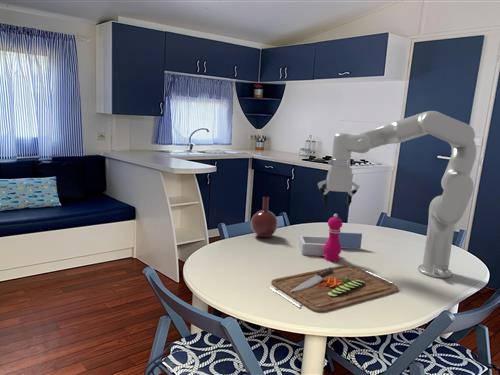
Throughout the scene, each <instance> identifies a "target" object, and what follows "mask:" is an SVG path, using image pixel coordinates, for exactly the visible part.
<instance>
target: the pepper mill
mask: <svg viewBox="0 0 500 375" xmlns="http://www.w3.org/2000/svg"><path fill="white" fill-rule="evenodd" d="M327 225H328V230H327V231H328V234H329V235H328V237H329V238H328V240H327V242H326V244H325V246H324V251H325V252H326V254H325V256H323V258H324V260H326V261H328V262H333V263H336V262H339V260H340V254H342V247H341V245H340V243H339V233H340V232H341V228H342V227H343V221H342V219H341V218H340V217H339V215H338V213H334V214H333V216H331V217H330V218H329V219H328V221H327Z"/></svg>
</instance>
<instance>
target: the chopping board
mask: <svg viewBox="0 0 500 375" xmlns="http://www.w3.org/2000/svg"><path fill="white" fill-rule="evenodd" d="M271 285H272V286H273V287H274V288H273V287H270V291H272V292H274V293H276V294H277V295H278V296H280V297H281V298H282V299H285V300H286V301H288V302H289V303H291V304H292V305H294V306H295V307H296V308H298V309H301V308H302V307H305V308H306V309H308V310H310V311H312V312H315V313H326V312H330V311H333V310H337V309H341V308H344V307H348V306H352V305H356V304H360V303H364V302H366V301H369V300H374V299H377V298H378V299H379V298H380V297H384V296H385V297H386V296H388V295H392V294H395V293H396V294H397V293H398V292H399V287H398V286H396V285H395V283H394V282H393V281H391V280H389V279H387V278H383V277H382V276H380V275H377V274H375V273H373V272H371V271H368V270H366V269H363V268H362V267H361V268H358V267H355V266H353V265H351V264H350V265H348V264H342V265H338V266H337V265H336V266H332V267H327V268H322V269H318V270H312V271H308V272H303V273H302V272H301V273H297V274H294V275H293V274H291V275H289V276H282V277H278V278H274V279H272V280H271ZM278 290H279V291H280V292H279V291H278ZM281 292H282V293H283V294H282V293H281ZM284 294H285V295H286V296H285V295H284ZM287 296H288V297H290V298H288V297H287ZM293 300H294V301H293ZM295 301H296V302H298V303H299V304H298V303H296V302H295Z"/></svg>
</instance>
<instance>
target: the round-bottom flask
mask: <svg viewBox="0 0 500 375" xmlns="http://www.w3.org/2000/svg"><path fill="white" fill-rule="evenodd" d="M269 199H270V197H269V196H265V195H264V196H262V210H259V211H257V212H256V213H255V214H253V216H252V218H251V220H250V228H251V229H252V231H253V233H254V234H255V235H256V236H257V237H260V238H269V237H271V236H273V234H275V233H276V231H277V229H278V224H279V222H278V218H277V216H276V215H275V214H274V213H273V212H272V211H270V210H269Z"/></svg>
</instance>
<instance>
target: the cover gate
mask: <svg viewBox="0 0 500 375" xmlns="http://www.w3.org/2000/svg"><path fill="white" fill-rule="evenodd" d="M362 236H363V233H360V232H345V231H344V232H343V231H342V232H341V231H340V233H339V243H340V245H341V249H342V248H343V249H345V248H346V249H361V248H362V247H361V246H362Z"/></svg>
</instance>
